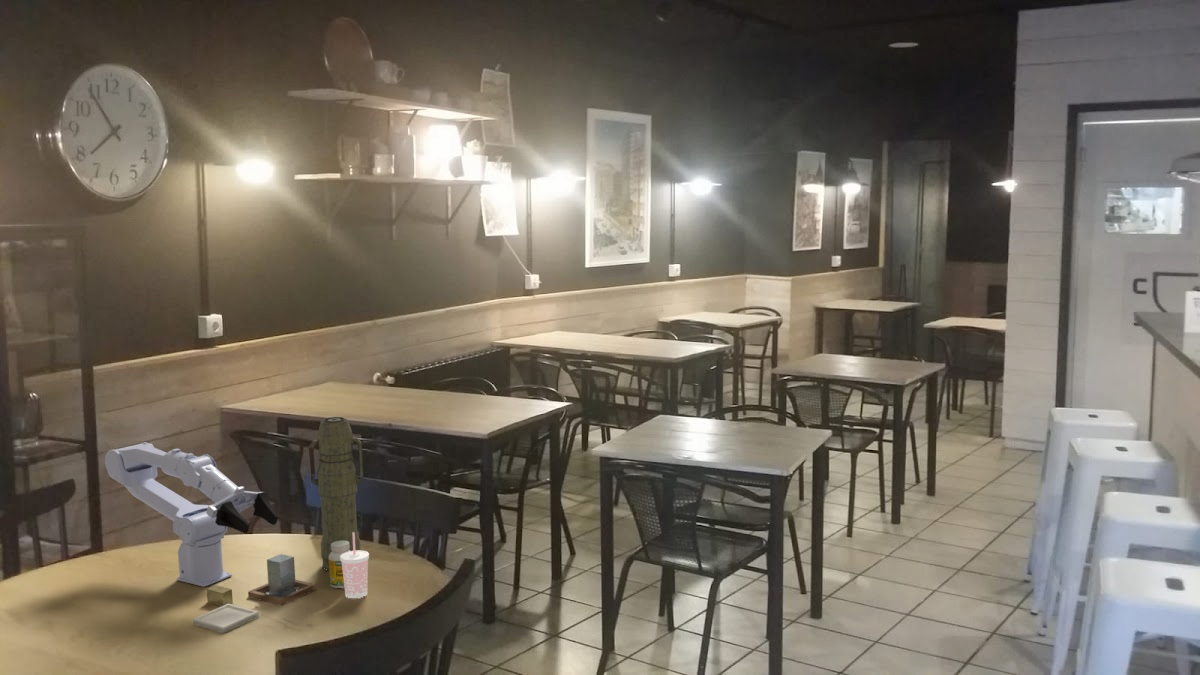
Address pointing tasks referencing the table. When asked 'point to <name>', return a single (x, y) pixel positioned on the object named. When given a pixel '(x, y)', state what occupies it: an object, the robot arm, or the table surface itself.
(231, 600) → the bar
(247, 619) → the tray
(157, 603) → the table surface
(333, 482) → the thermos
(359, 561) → the beverage cup
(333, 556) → the supplement bottle
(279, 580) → the brushed metal block
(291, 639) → the table surface
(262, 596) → the socket
